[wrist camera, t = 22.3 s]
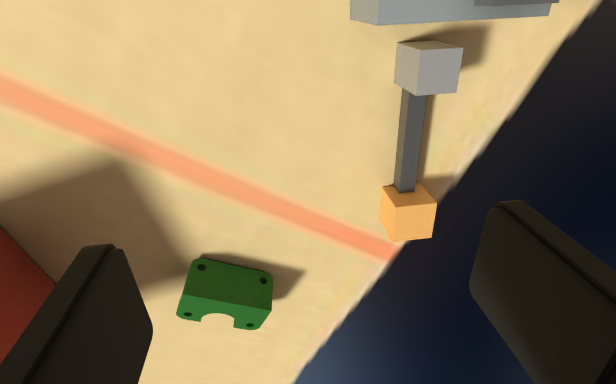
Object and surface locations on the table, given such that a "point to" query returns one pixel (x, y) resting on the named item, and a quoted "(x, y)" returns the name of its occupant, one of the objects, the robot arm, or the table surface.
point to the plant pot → (18, 292)
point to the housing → (443, 10)
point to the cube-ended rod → (416, 134)
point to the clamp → (226, 293)
